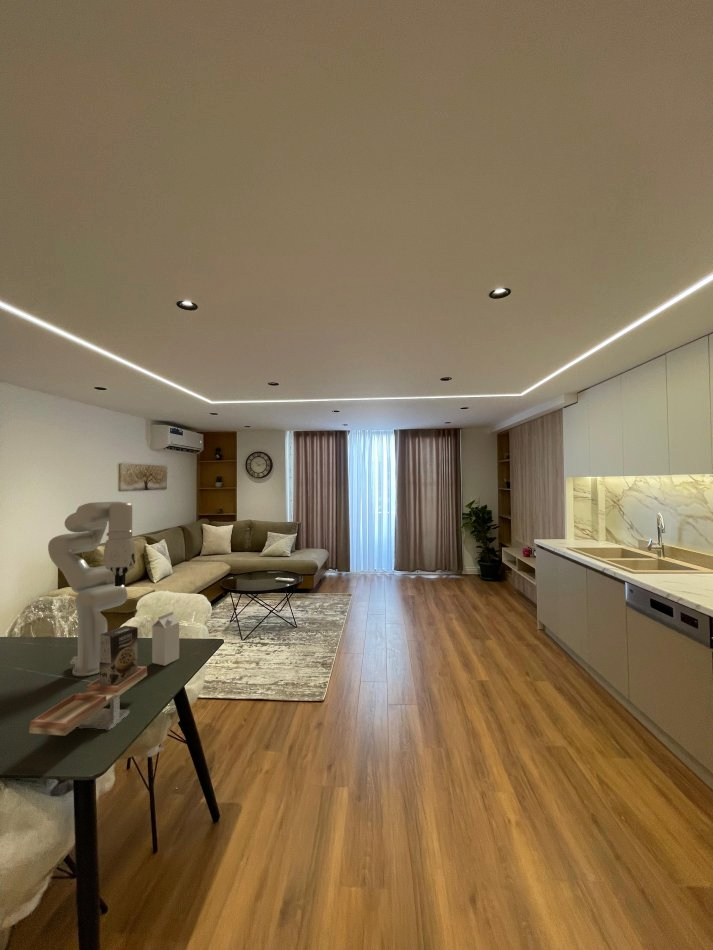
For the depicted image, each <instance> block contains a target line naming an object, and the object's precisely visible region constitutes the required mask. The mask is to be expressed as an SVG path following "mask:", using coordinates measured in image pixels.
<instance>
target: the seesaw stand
mask: <svg viewBox="0 0 713 950" xmlns="http://www.w3.org/2000/svg"><path fill="white" fill-rule="evenodd" d="M82 693H83V692H78V693H77V694H82ZM120 696H121V695H116V696H114V697H113V698H111V699H110V705H109V708H105V707H103V708H102V709H101V710H99V711H98V712H97V713H95V714H94V715H93V716H91V717H90V718H88V719H87V720H86V721H84V722H83V723H82V724H80V725H79V726H78V727H82V728H81V729H83V728H97V729H106V730H105V731H111V730H112V729H113V728H114V727H116V726H117V725H118V724H119V723H120V722H121V721H123V720H124V719H125V718H127V716H129V715H130V709H123V708H122V709H120V703H121V701H120V699H121V698H120ZM128 714H129V715H128ZM124 717H125V718H124ZM123 718H124V719H123ZM122 719H123V720H122ZM117 723H118V724H117ZM116 724H117V725H116ZM111 728H112V729H111ZM97 729H96V730H97ZM110 729H111V730H110Z"/></svg>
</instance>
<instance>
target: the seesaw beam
mask: <svg viewBox="0 0 713 950" xmlns="http://www.w3.org/2000/svg"><path fill="white" fill-rule="evenodd" d="M147 668H148V667H147V666H139V665H137V672H136V673H135V674H133V675H132V676H130V677H129V678H128V679H126V680H125V681H123V682H122V683H120V684H118V685H116V686H109V685H100V684H99V677H98V678H96V679H95V680H94V681H92V682H90V683H89V684H87V685H85V687H86V689H85V691H83V692H81V693H82V694H78V693H77V692H74V693H72V694H71V695H69V696H68V697H66V698H64V699H63V700H61V701H59V702H58V703H56V704H55V705H53V706H52V707H50V708H48V709H47V710H46V711H44V712H43V713H41V714H39V715H38V716H36V717H35V718H33V719H31V720H30V722H29V729H28V733H29V734H37V735H52V736H67V735H68V734H69V733H71V732H72V731H73V730H75V729H77V728H76V727H78V726H79V725H80V724H82V723H83V722H84V721H86V720H87V719H88V718H90V717H91V716H93V715H94V714H95V713H97V712H98V711H99V710H101V709H102V708H105V707H106V706H108V705H109V706H110V699H111V698H113V697H114V696H116V695H120V696H121V695H122V694H124V693H125V692H126V691H128V690H129V689H131V688H132V687H134V685H136V684H138V682H140V681H141V680H143V679H144V678H145V677H147V676H148V669H147Z"/></svg>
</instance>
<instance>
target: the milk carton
mask: <svg viewBox="0 0 713 950" xmlns="http://www.w3.org/2000/svg"><path fill="white" fill-rule="evenodd" d="M151 628H152V637H151V639H152V640H151V641H152V645H151V646H152V648H151V652H152V653H151V662H152V664H155V665H160V666H163V667H164V666H165V667H166V666H167V665H169V664H171V663H173V662H175V661H178V660H179V659H180V620H178V619H177V617H176V616H175V615H174V611H170V612H168V613H166V614H162V615H161V616H158V619H157V620H156V621H155V622H154V623H153V624H152V627H151Z"/></svg>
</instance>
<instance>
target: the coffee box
mask: <svg viewBox="0 0 713 950" xmlns="http://www.w3.org/2000/svg"><path fill="white" fill-rule="evenodd" d="M138 630H139V627H138V626H133V625H132V626H131V625H123V626H121V627H118V628H115V629H112V630H109V631H107V632H106V633H103V634H100V666H99V673H98V674H99V675H98V678H99V684H100V685H109V686H116V685H118V684H120V683H122V682H123V681H125V680H126V679H128V678H129V677H130V676H132V675H133V674H135V673H136V672H137V666H138V642H139V641H138V637H139V636H138V635H139V634H138V632H139V631H138Z"/></svg>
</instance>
